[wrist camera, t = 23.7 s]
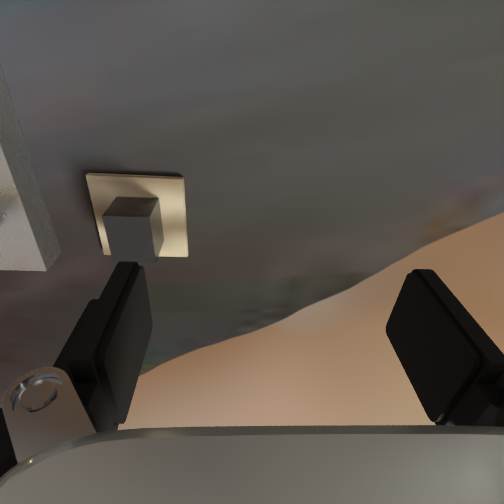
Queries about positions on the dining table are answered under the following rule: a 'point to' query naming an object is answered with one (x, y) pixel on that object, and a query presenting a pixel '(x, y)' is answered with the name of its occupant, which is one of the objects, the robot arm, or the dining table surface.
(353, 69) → the dining table surface
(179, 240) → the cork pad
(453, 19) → the dining table surface
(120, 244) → the dark grey block
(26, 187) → the plane body
